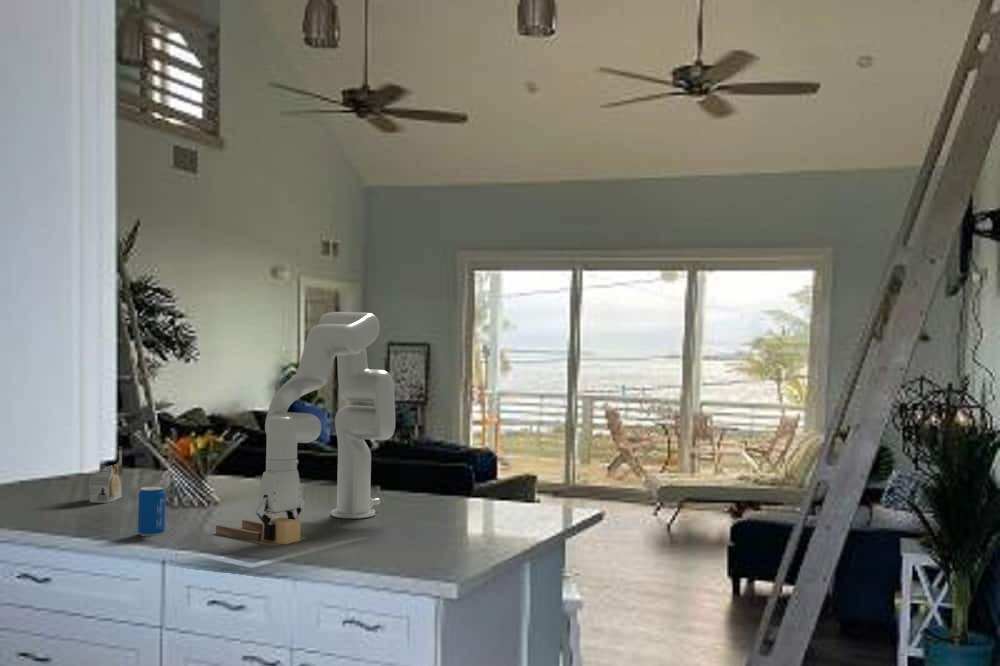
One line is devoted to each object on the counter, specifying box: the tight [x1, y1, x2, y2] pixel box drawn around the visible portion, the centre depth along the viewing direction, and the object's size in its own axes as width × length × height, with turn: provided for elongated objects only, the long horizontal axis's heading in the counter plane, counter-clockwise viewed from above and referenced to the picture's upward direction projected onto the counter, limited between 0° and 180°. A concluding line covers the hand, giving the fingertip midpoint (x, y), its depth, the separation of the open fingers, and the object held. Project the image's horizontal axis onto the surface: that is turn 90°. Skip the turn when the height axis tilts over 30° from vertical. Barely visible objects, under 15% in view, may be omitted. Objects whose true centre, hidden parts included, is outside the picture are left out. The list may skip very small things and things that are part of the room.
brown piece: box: [214, 519, 308, 547], centre depth 239 cm, size 12×22×3 cm, turn 56°
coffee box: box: [89, 446, 123, 504], centre depth 290 cm, size 9×6×16 cm
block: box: [263, 516, 302, 545], centre depth 235 cm, size 5×8×5 cm, turn 56°
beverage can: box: [137, 485, 167, 538], centre depth 243 cm, size 6×6×12 cm
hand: (280, 537), depth 236 cm, fingers open, 6 cm apart
